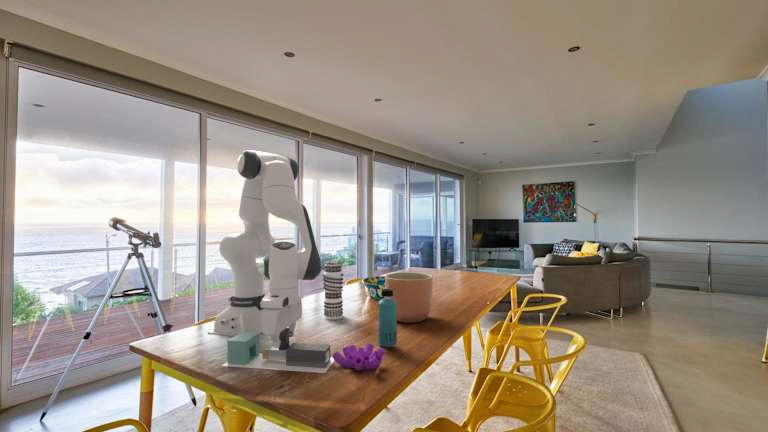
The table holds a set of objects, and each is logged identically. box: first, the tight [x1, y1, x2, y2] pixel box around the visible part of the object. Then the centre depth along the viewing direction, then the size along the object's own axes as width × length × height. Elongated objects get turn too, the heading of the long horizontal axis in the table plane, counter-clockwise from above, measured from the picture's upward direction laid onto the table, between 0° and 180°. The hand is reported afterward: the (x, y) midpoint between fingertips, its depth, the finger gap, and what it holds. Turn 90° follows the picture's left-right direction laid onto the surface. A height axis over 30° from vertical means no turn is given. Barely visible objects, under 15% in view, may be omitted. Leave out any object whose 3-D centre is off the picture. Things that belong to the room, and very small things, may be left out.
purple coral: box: [331, 342, 386, 371], centre depth 106 cm, size 11×15×10 cm
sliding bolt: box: [262, 327, 329, 363], centre depth 108 cm, size 20×3×9 cm, turn 80°
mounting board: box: [221, 352, 335, 374], centre depth 109 cm, size 32×11×1 cm, turn 80°
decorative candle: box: [322, 260, 345, 320], centre depth 161 cm, size 9×9×25 cm
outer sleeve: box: [286, 342, 331, 368], centre depth 108 cm, size 12×5×5 cm, turn 80°
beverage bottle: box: [377, 288, 398, 347], centre depth 123 cm, size 6×7×20 cm
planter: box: [384, 271, 434, 324], centre depth 157 cm, size 21×21×19 cm
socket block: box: [226, 332, 261, 365], centre depth 111 cm, size 6×8×7 cm
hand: (284, 341), depth 109 cm, fingers open, 8 cm apart
